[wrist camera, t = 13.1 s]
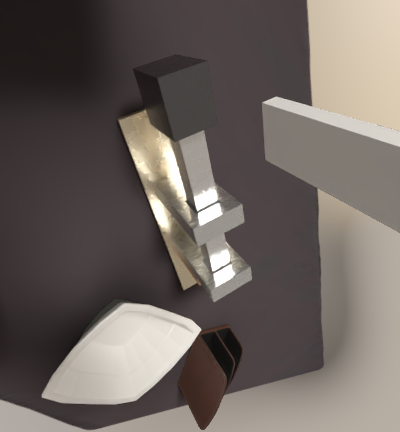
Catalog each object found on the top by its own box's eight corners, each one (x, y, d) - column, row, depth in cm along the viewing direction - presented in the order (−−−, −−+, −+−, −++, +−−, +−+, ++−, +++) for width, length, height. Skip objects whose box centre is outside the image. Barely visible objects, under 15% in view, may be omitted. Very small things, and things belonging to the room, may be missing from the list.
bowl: (125, 369, 65) (137, 405, 59) (24, 355, 49) (26, 403, 43) (191, 297, 63) (210, 327, 57) (107, 260, 48) (121, 295, 42)
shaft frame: (181, 287, 60) (216, 341, 50) (116, 118, 37) (155, 154, 27) (222, 263, 63) (263, 311, 52) (184, 93, 40) (243, 117, 30)
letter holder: (177, 382, 79) (201, 437, 69) (195, 331, 71) (226, 383, 61) (207, 372, 84) (234, 421, 74) (228, 323, 76) (261, 370, 66)
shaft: (192, 258, 48) (213, 286, 43) (132, 68, 30) (157, 78, 25) (218, 244, 50) (241, 270, 45) (175, 54, 31) (207, 60, 26)
